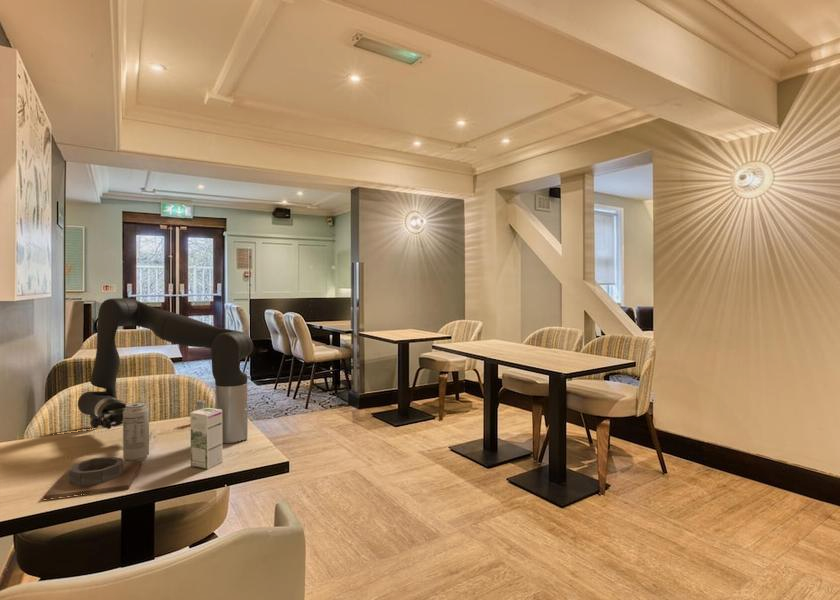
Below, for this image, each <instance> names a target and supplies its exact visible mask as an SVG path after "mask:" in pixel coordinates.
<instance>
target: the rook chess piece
mask: <svg viewBox="0 0 840 600" xmlns="http://www.w3.org/2000/svg"><path fill="white" fill-rule="evenodd" d="M194 404H195V406H196V407H195V409H196V410H199V409H202V408H206V407H205V404H206V401H205V399H203V398H201V399H197V400H195V402H194ZM196 410H195V411H196Z"/></svg>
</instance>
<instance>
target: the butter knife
mask: <svg viewBox="0 0 840 600" xmlns="http://www.w3.org/2000/svg"><path fill="white" fill-rule="evenodd" d="M157 429H158V428H157ZM157 429H153V430H152V431H151V432H152V434H151V433H150V434H151V436H150V435H149V438H150V440H149V441H152V439H153V437H154V436H155V435H156V431H157ZM156 436H157V435H156ZM156 436H155V437H156ZM153 440H154V439H153Z"/></svg>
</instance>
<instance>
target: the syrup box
mask: <svg viewBox="0 0 840 600" xmlns="http://www.w3.org/2000/svg"><path fill="white" fill-rule="evenodd" d="M189 418H190V422H189V423H190V467H193V468H199V469H203V470H208V469H211V468H214V467H216V466H217V465H220V464H221V463H223V462H224V459H223V457H224V456H223V443H222V410H221V409H215V408H212V407H211V408H210V407H204V408H202V409H199V410H193V411H191V412H190V416H189Z"/></svg>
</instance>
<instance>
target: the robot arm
mask: <svg viewBox="0 0 840 600" xmlns="http://www.w3.org/2000/svg"><path fill="white" fill-rule="evenodd" d="M97 314H98V316H97V329H96V330H97V335H96V351H95V353H96V354H95V358H94V359H95V360H94V364H93V369H92V372H91V377H90V384H91V385H92V386H94V387H96V388H100V389H105V391H104V390H103V391H101V390H100V391H85V392H84V393H82V394H81V395H80V396H79V398H78V400H77V408H78V410H79V412H81V413H82V414H84V415H87V416H89V425H90V427H92V428H93V429H97V428H98V427H99V426H100V427H101V428H104V429H107V430H110V429H111V428H112V427H118V426H120V425H123V411H124V409H125V408H126V405H127V403H126V402H123V401H121V400H120V399H118V398H117V388H116V387H117V386H116V383H117V378H118V374H119V369H120V364H121V363H120V361H121V359H120V354H119V351H118V349H117V346H116V334H117V332H118V328H119V327H129V326H131V327H133V326H135V327H141V328H144V329H148V330H150V331H152V332H153V334H154V335H155V336H156V337H158V338H159V339H161V340H163V341H166V342H168V343H172V344H175V345H179V346H184V347H193V348H204V349H205V348H206V349H210V351H211V352H210V357H211V371H212V372H211V373H212V376H213V378H214V382H215V384H214V386H215V387H214V391H215V392H214V409H221V410H222V444H233V443H234V444H235V443H239V442H242V441H246V440H245V439H247V440H248V427H249V426H248V421H249V419H248V417H249V416H248V374H247V373H246V372H244V371H242V370H241V367H240V361H241V360H244V359H245V358H248V357H249V356H250V355H251V354H252V352H253V350H254V343H253V340H252V338H251V337H250V335H248V334H247V333H246V332H244V331H240V330H236V329H235V330H234V329H228V328H222V327H219V326H216V325H212V324H208V323H206V322H203V321H201V320H197V319H195V318H192V317H189V316H187V315H182V314H178V313H176V312H172V311H169V310H163V309H159V308H155V307H153V306H151V305H150V306H149V305H148V304H146V303H144V302H141V301H139V300H138V299H134V298H131V297H129V298H127V297H121V298H120V297H119V298H116V297H115V298H114V297H113V298H108V299H105V300H104V301H103V302H101V304H100V306H99V309H98V313H97ZM241 440H242V441H241ZM238 441H239V442H238Z"/></svg>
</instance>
